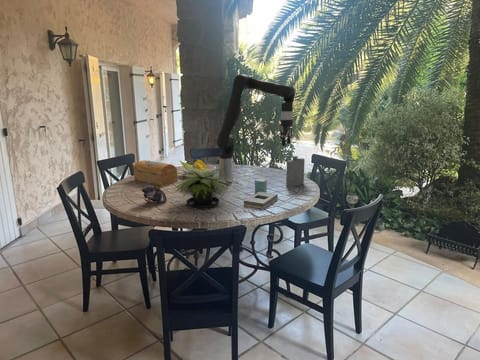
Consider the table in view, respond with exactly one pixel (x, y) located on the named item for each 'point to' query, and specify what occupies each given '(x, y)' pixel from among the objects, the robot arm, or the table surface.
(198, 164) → the fruit bowl
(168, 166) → the wooden box
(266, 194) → the block
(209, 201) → the fern plant
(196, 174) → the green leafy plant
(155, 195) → the dark grey rounded piece
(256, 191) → the plug
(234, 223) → the table surface
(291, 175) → the hip flask
